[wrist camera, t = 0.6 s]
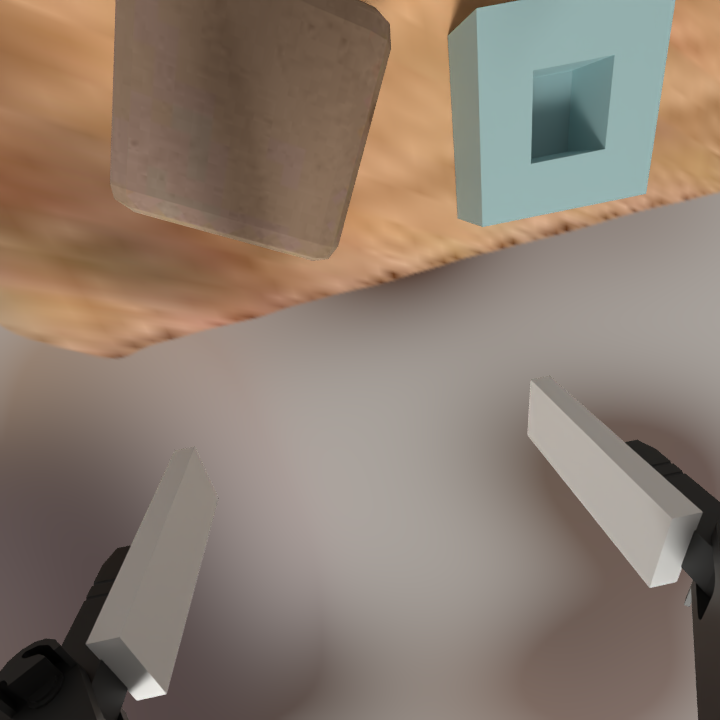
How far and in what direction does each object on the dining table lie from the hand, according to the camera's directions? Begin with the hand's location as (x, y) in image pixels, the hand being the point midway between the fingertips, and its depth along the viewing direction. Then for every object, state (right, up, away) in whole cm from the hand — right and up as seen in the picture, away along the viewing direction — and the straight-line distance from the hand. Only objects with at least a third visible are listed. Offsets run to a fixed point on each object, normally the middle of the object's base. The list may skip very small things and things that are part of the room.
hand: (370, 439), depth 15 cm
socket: (+15, +24, +19) cm, 34 cm away
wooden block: (-7, +22, +18) cm, 29 cm away
